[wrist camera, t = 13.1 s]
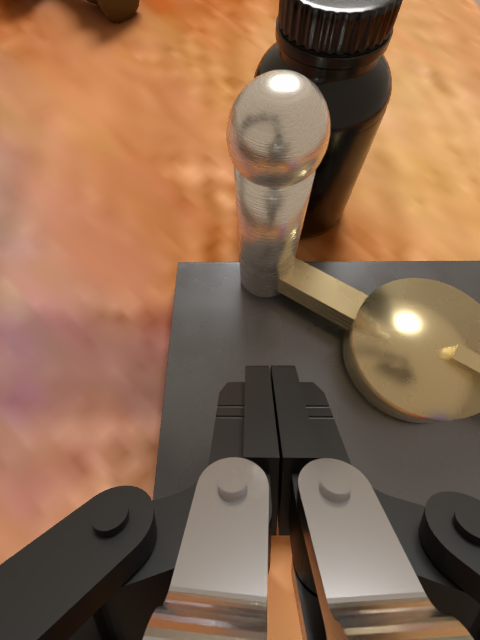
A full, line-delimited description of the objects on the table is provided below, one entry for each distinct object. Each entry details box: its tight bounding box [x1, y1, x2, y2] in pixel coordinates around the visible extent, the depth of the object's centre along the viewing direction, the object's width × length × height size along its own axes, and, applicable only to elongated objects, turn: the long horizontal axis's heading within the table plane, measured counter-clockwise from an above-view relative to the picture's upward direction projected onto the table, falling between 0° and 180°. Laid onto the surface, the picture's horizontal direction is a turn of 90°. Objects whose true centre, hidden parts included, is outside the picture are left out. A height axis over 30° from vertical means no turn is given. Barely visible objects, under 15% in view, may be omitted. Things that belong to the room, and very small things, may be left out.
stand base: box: [153, 261, 480, 506], centre depth 17 cm, size 23×14×2 cm, turn 89°
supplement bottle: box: [254, 0, 403, 238], centre depth 17 cm, size 7×7×12 cm
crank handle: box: [226, 70, 480, 423], centre depth 12 cm, size 20×7×11 cm, turn 56°
